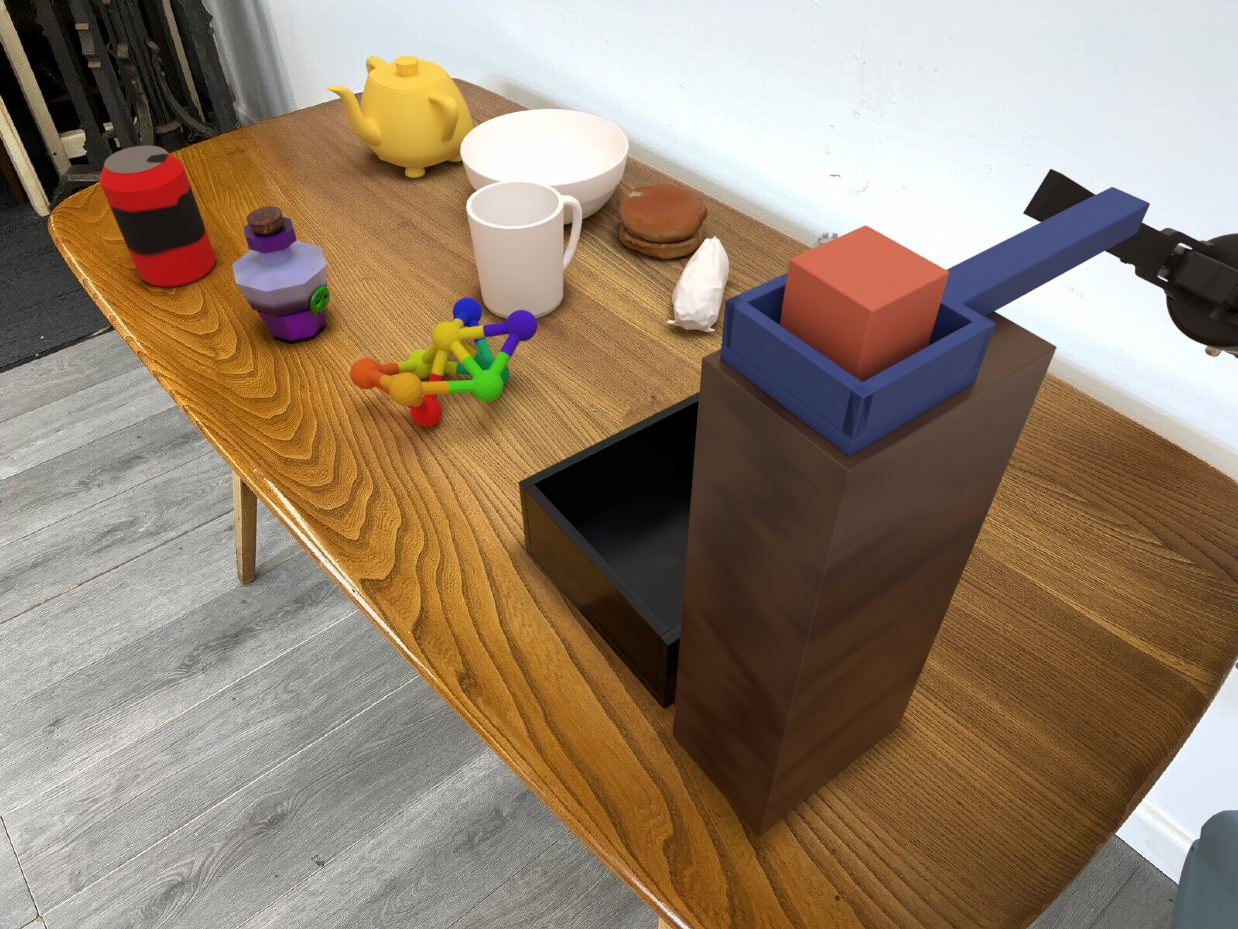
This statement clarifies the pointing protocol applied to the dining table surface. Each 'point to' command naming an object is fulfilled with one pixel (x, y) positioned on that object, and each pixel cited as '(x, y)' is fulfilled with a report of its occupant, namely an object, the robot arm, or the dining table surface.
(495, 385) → the decorative model
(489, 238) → the mug
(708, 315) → the white cloth bag
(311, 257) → the potion bottle
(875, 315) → the block
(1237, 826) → the robot arm
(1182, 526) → the dining table surface
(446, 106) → the teapot
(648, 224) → the burger
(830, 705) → the stand
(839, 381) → the blue long-handled scoop
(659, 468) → the black square open box
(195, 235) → the soda can
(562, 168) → the bowl
